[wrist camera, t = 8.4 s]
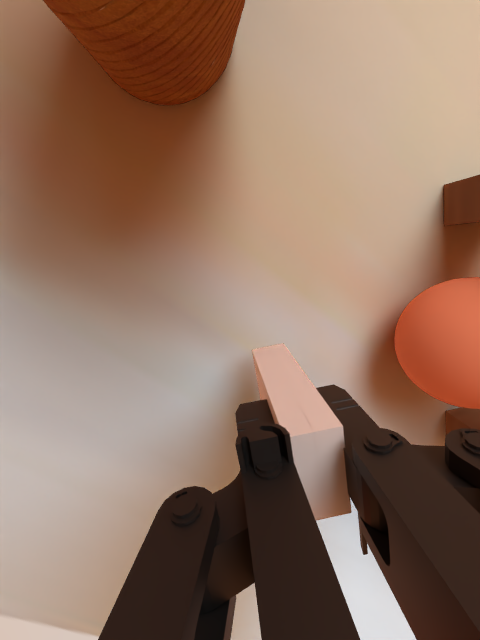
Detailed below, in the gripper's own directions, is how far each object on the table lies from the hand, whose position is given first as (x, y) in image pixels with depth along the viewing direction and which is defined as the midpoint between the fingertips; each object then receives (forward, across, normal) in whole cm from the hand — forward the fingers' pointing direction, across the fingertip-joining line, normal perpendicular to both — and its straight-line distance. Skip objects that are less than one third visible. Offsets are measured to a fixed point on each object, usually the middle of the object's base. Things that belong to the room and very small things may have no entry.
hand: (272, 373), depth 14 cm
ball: (0, +9, 0) cm, 9 cm away
